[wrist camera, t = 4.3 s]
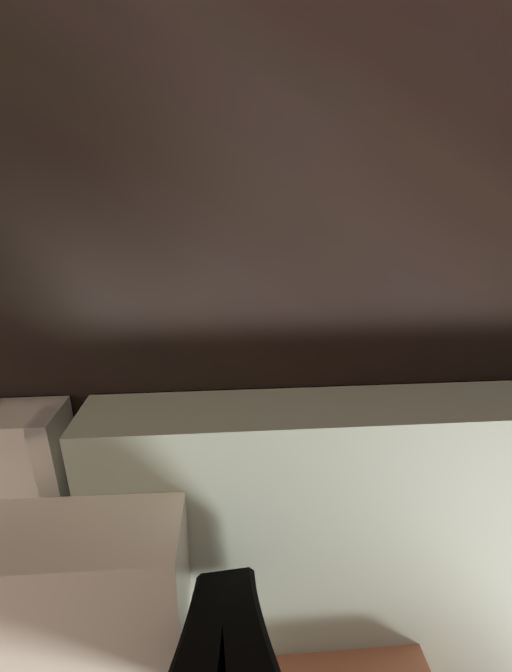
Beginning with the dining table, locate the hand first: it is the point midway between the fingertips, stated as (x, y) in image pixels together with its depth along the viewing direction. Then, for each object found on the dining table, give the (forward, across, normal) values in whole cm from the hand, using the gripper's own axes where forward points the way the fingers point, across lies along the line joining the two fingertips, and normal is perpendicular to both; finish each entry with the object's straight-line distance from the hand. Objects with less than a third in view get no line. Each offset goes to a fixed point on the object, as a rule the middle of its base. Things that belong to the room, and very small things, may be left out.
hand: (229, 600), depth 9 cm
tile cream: (+1, +3, 0) cm, 3 cm away
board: (+3, -3, +3) cm, 5 cm away
